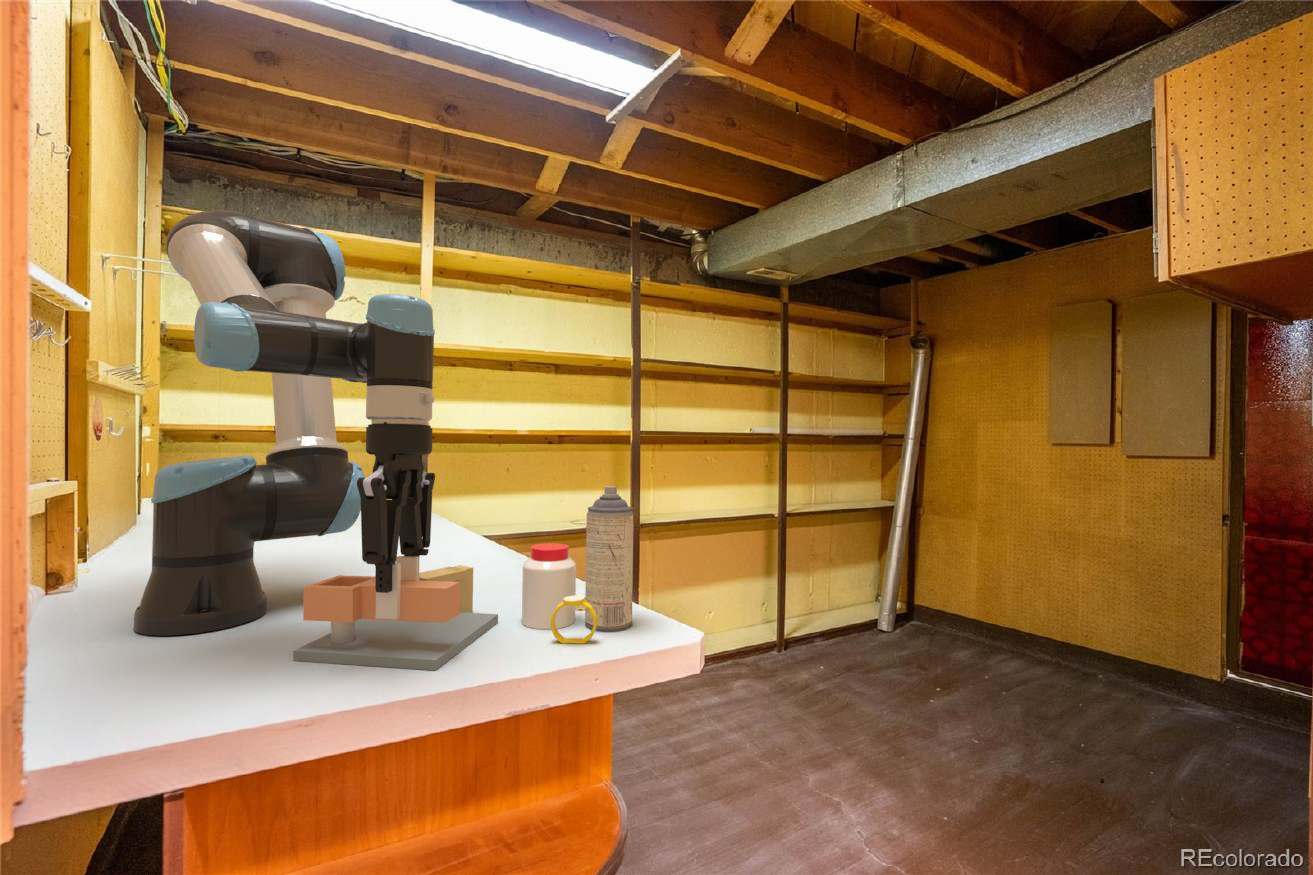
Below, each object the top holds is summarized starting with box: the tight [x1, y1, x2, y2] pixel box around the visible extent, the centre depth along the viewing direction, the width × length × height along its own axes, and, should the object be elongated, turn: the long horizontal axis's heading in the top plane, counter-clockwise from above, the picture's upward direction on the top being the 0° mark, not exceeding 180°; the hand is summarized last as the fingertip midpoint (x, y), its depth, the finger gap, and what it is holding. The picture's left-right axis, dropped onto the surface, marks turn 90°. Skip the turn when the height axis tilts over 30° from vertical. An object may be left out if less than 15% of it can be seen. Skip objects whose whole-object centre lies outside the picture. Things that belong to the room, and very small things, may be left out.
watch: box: [550, 594, 597, 645], centre depth 78 cm, size 6×3×6 cm, turn 91°
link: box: [302, 574, 460, 623], centre depth 72 cm, size 17×6×4 cm, turn 83°
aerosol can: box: [584, 485, 634, 633], centre depth 85 cm, size 7×7×20 cm
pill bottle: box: [521, 542, 577, 630], centre depth 86 cm, size 8×8×11 cm
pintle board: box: [292, 564, 499, 672], centre depth 79 cm, size 18×22×7 cm
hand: (397, 612), depth 72 cm, fingers closed on link, 3 cm apart
